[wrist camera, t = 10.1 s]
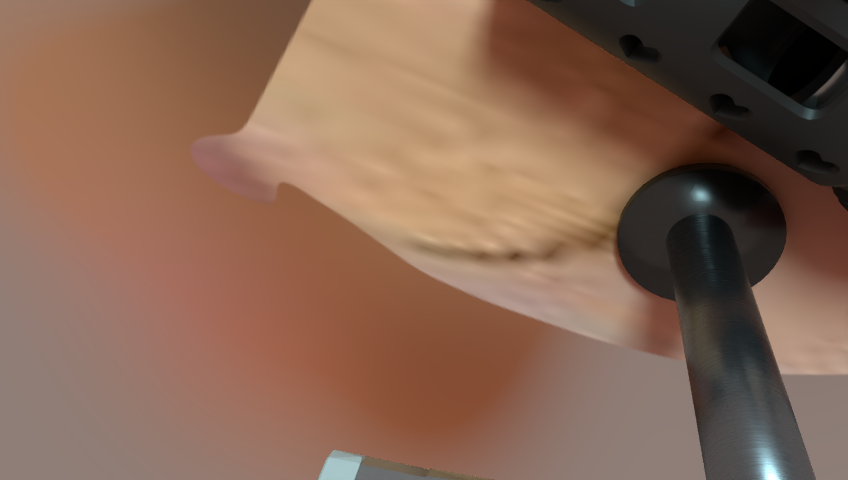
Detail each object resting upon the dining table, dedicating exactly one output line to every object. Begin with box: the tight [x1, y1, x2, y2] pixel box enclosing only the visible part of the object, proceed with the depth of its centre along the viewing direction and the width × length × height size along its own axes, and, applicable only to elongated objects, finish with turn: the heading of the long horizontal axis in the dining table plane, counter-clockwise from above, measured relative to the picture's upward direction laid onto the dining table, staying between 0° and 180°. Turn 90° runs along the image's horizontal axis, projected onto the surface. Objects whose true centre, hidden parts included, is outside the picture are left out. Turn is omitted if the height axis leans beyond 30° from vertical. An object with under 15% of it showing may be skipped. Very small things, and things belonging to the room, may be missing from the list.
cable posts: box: [618, 163, 816, 480], centre depth 25 cm, size 10×38×24 cm, turn 179°
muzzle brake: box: [527, 0, 848, 211], centre depth 31 cm, size 10×28×10 cm, turn 62°
